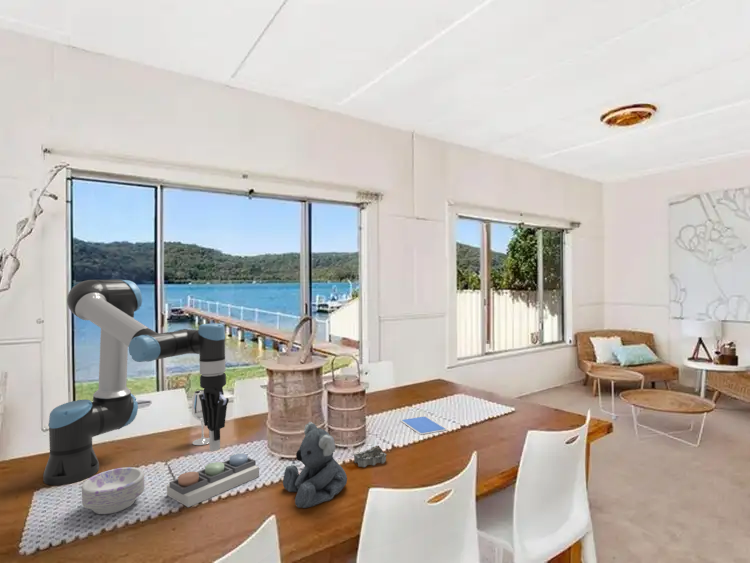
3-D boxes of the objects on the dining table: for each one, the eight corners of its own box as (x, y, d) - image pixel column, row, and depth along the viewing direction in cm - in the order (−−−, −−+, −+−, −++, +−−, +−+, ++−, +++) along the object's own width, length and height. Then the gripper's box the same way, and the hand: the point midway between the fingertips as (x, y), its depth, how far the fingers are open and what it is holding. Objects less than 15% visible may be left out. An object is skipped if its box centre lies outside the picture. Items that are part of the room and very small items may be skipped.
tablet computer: (447, 432, 180) (447, 428, 180) (420, 436, 175) (420, 433, 175) (425, 418, 198) (425, 416, 198) (400, 422, 193) (400, 419, 193)
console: (187, 507, 122) (186, 491, 122) (166, 495, 129) (165, 480, 129) (259, 475, 141) (259, 462, 141) (238, 466, 148) (237, 453, 148)
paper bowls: (99, 526, 113) (99, 495, 113) (71, 511, 121) (71, 482, 121) (155, 500, 126) (155, 473, 126) (127, 488, 134) (126, 462, 134)
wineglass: (208, 445, 169) (207, 393, 169) (188, 445, 169) (187, 394, 169) (216, 438, 176) (215, 388, 176) (197, 438, 177) (196, 389, 177)
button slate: (236, 467, 138) (236, 461, 138) (226, 463, 141) (225, 457, 141) (251, 461, 142) (251, 456, 142) (240, 457, 146) (240, 452, 146)
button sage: (211, 477, 131) (211, 471, 131) (201, 472, 134) (201, 466, 134) (228, 470, 135) (227, 464, 135) (217, 466, 139) (217, 460, 139)
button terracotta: (184, 488, 124) (184, 481, 124) (174, 482, 128) (174, 476, 128) (202, 480, 129) (202, 474, 129) (192, 476, 132) (192, 470, 132)
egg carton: (380, 456, 156) (380, 444, 156) (388, 464, 149) (388, 451, 149) (352, 460, 152) (351, 449, 152) (359, 469, 145) (358, 456, 145)
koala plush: (280, 487, 133) (278, 423, 133) (334, 473, 142) (332, 413, 142) (299, 513, 118) (297, 440, 118) (358, 496, 126) (357, 428, 126)
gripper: (235, 373, 134) (237, 450, 134) (212, 369, 142) (214, 442, 142) (213, 378, 128) (215, 458, 128) (190, 373, 136) (192, 449, 136)
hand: (214, 449), depth 135 cm, fingers closed
